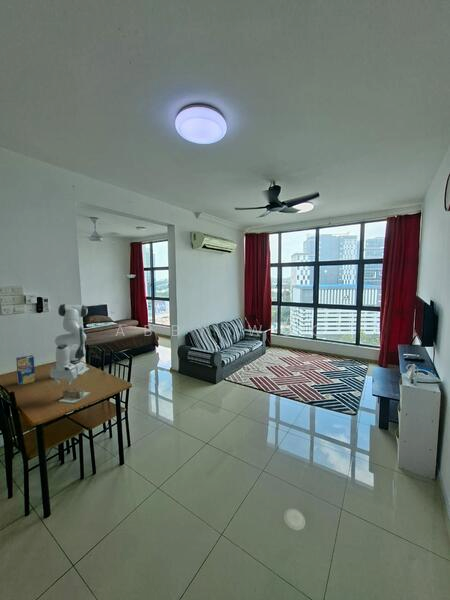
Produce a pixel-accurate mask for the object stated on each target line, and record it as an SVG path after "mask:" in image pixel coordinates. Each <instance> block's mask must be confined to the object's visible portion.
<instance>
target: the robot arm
mask: <svg viewBox="0 0 450 600" xmlns="http://www.w3.org/2000/svg"><path fill="white" fill-rule="evenodd" d="M57 313H58V315H59V316H60V317H63V319H62V320H63V321H62V327H63V329H64V331H66V332H68V333H64V334H63V333H62V334H59V335H57V336H56V337H55V339H54V342H55V345H56V349H55V350H56V351H55V365H52V366H51V367H50V374H49V375H50V378H51V379H54V380H55V382H56V384H57V385H60V383H61V381H60V380H61V379H62V380H68V382H66V383H67V386H70V385H71V384H72V381H73V380H75V379H77V378H78V376H81V375H83V374H85V373H86V372H87V371H89V370H90V368H89V367H87V365H86V363H84V362H83V361H82V360H83V358H84V357H85V356H86V346H85V345H86V344H85V342H86V341H87V334H86V333H85V332H84V330H83V328H82V326H81V325H80V323H81V318H84V317H86V316H87V315H88V313H89V311H88V307H87V306H86V305H82V304H81V305H80V304H69V303H68V304H67V303H65V304H64V303H63V304H60V305H59V307H58V308H57ZM85 371H86V372H85ZM59 379H60V380H59Z"/></svg>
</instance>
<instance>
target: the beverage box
mask: <svg viewBox="0 0 450 600" xmlns="http://www.w3.org/2000/svg"><path fill="white" fill-rule="evenodd" d="M16 373H17V374H16V375H17V376H16V377H17V384H18V386H21V385H24V384H29V383H35V382H36V380H35V379H36V375H35V373H36V372H35V356H34V355H33V354H31V355H26V356H24V355H23V356H19V357H16Z"/></svg>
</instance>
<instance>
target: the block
mask: <svg viewBox="0 0 450 600" xmlns="http://www.w3.org/2000/svg"><path fill="white" fill-rule="evenodd" d="M84 392H85V389H84V388H83V389H82V388H73V387H66V388H65V389H63V390H62V398H64V397H68V398H77V399H80V398H82V397H83V396H84Z"/></svg>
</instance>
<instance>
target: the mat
mask: <svg viewBox="0 0 450 600" xmlns="http://www.w3.org/2000/svg"><path fill="white" fill-rule="evenodd" d="M91 394H92V393H91V392H87V391H84V396H83V397H82V398H80V399H77V398H68V397H62V398H61V399H59V400H58V401H57V402H59V403H68V404H77V403H79V402H80V401H81V400H83V399H85V398H86V397H87V396H89V395H91Z"/></svg>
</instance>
